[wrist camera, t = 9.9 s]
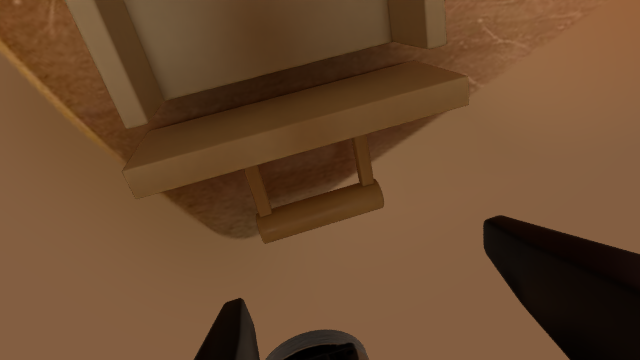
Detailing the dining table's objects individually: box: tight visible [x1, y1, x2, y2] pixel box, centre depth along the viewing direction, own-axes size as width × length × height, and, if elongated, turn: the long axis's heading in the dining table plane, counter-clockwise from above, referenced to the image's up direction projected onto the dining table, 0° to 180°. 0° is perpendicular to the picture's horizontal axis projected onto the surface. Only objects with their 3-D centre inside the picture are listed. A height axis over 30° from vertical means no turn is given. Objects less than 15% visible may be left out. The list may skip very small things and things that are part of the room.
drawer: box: [65, 0, 469, 244], centre depth 15 cm, size 17×13×5 cm
